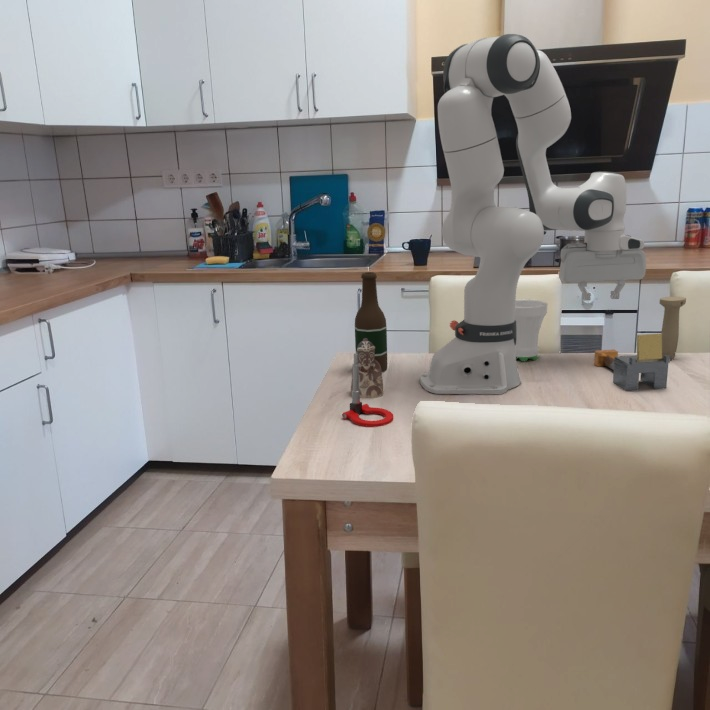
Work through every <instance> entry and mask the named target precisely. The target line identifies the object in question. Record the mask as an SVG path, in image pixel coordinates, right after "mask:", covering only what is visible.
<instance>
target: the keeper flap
mask: <svg viewBox="0 0 710 710" xmlns="http://www.w3.org/2000/svg"><path fill="white" fill-rule="evenodd" d="M636 355H637V359H636V363H647V362H664V358H662V334H661V333H649V334H646V333H645V334H636Z"/></svg>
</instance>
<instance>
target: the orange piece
mask: <svg viewBox="0 0 710 710" xmlns="http://www.w3.org/2000/svg"><path fill="white" fill-rule="evenodd" d="M615 356H619V351H617V350H616V349H600V350H594V361H593V362H594V365H595V366H596V367H607V368H608V369H610V370H612V371H614V358H615Z"/></svg>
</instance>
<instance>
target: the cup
mask: <svg viewBox="0 0 710 710" xmlns="http://www.w3.org/2000/svg"><path fill="white" fill-rule="evenodd" d="M547 313H548V303H547V302H546V301H544V300H539V299H530V298H529V299H527V298H525V299H522V298H521V299H520V298H519V299H516V300H515V320H516V326H517V340H516V345H515V355H516V360H517V359H519V360H520V361H521V362H523V361H525V362H527V361H528V360H533V361H535V360H537V359H538V357H539V356H538V355H539V345H538V344H539V343H538V342H539V334H540V329H541V326H542V324H543V321H544V318H545V316H546V315H547Z"/></svg>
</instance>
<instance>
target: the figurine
mask: <svg viewBox="0 0 710 710" xmlns="http://www.w3.org/2000/svg"><path fill="white" fill-rule="evenodd" d="M357 354H358V364H359V391H360V399H367V400H368V399H375V398H379V397H381V396H383V394H384V381H383V372H382V370H381V366H380V364H379V363H378V361H377V360H375V346H374V345H373V344H372V343H371V342H370V341H368V339H367V338H364V339H363V341H362V342H360V343H359V345H358V347H357ZM350 383H351V384H350V394H351V395H352V390H353V367H352V369H351V381H350Z"/></svg>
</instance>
